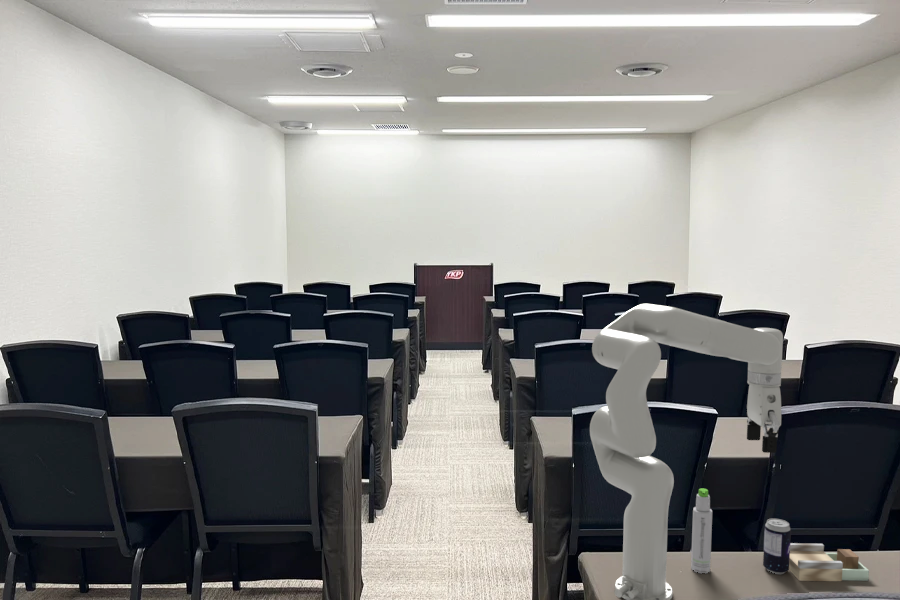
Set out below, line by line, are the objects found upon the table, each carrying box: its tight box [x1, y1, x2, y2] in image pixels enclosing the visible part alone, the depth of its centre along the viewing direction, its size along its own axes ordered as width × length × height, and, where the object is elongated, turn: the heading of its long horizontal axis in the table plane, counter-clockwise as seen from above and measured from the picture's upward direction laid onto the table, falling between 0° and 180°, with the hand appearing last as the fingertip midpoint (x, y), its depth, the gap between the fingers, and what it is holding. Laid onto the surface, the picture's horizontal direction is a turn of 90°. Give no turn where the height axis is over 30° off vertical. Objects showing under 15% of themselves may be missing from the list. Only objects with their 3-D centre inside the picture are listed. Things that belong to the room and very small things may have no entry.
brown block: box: [836, 548, 860, 569], centre depth 170 cm, size 4×4×3 cm
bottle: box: [690, 488, 713, 574], centre depth 170 cm, size 4×4×20 cm
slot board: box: [788, 542, 843, 582], centre depth 170 cm, size 10×10×4 cm
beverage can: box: [762, 517, 792, 575], centre depth 170 cm, size 6×6×12 cm
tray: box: [825, 552, 870, 582], centre depth 170 cm, size 6×9×2 cm
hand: (761, 445), depth 176 cm, fingers open, 9 cm apart
